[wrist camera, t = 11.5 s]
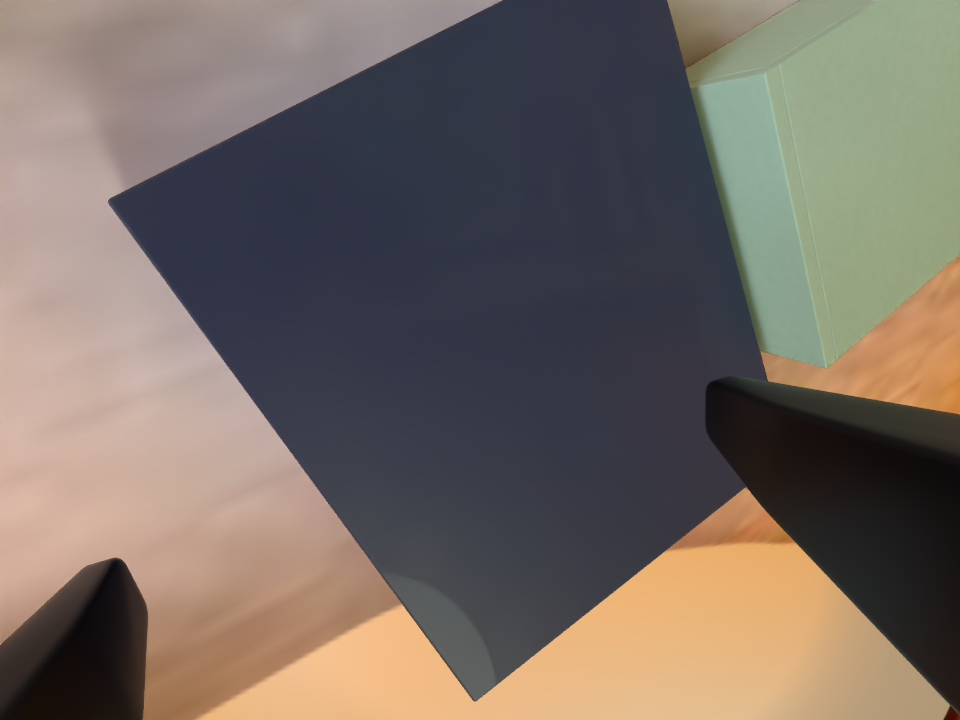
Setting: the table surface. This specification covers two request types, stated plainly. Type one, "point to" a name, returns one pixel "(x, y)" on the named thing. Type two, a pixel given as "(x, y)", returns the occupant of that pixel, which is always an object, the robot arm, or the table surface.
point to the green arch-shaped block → (835, 163)
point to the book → (480, 310)
